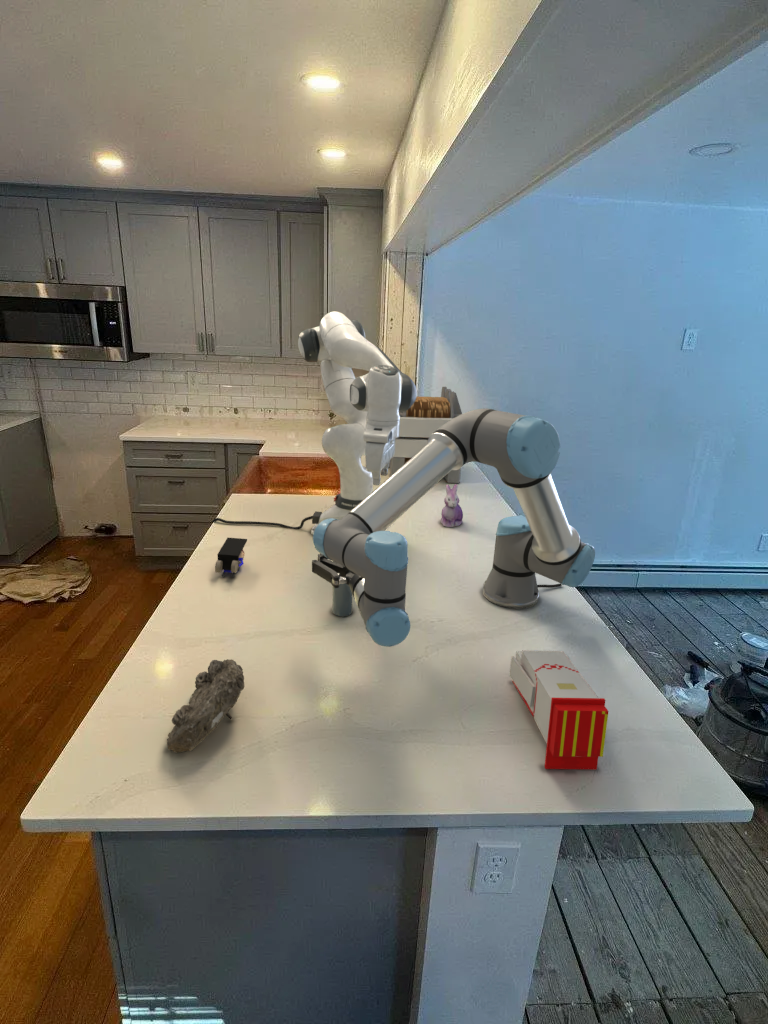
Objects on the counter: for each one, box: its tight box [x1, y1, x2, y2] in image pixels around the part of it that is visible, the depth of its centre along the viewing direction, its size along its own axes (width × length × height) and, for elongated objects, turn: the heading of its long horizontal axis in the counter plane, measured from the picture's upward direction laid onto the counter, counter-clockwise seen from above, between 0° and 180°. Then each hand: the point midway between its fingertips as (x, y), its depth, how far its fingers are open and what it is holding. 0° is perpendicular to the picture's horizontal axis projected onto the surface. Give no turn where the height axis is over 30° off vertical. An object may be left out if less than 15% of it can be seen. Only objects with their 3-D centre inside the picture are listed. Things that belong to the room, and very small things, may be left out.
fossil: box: [166, 658, 245, 754], centre depth 106 cm, size 22×10×15 cm
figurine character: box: [214, 537, 248, 578], centre depth 166 cm, size 7×8×15 cm
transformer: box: [388, 386, 463, 484], centre depth 268 cm, size 34×33×41 cm
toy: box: [509, 649, 610, 771], centre depth 110 cm, size 12×13×30 cm
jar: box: [331, 561, 354, 617], centre depth 144 cm, size 5×5×20 cm
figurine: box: [440, 483, 464, 528], centre depth 209 cm, size 9×10×15 cm
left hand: (380, 479), depth 154 cm, fingers open, 8 cm apart
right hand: (350, 548), depth 132 cm, fingers open, 13 cm apart
